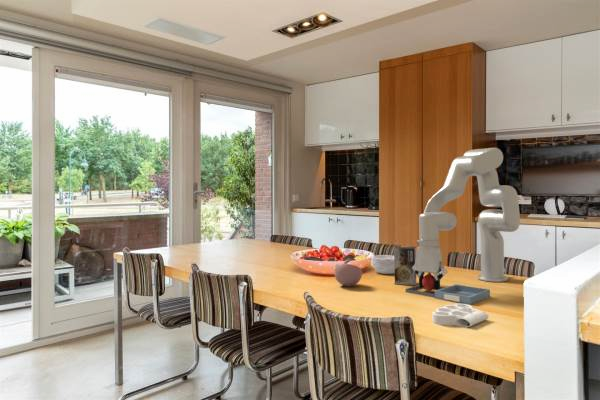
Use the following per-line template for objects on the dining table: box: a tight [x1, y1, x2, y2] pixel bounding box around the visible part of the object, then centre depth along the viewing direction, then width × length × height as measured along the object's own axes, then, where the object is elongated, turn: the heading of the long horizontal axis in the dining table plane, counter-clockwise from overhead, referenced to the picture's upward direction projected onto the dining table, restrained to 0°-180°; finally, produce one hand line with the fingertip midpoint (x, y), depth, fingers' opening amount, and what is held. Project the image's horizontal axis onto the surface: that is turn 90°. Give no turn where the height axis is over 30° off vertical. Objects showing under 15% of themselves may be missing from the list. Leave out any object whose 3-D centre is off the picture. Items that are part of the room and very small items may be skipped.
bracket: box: [405, 284, 446, 298], centre depth 178 cm, size 14×13×1 cm
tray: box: [434, 283, 491, 306], centre depth 167 cm, size 16×14×3 cm
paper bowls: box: [370, 254, 395, 275], centre depth 220 cm, size 15×15×8 cm
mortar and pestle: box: [333, 258, 363, 287], centre depth 191 cm, size 12×12×11 cm
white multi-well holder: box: [431, 303, 489, 329], centre depth 140 cm, size 3×18×15 cm
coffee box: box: [393, 245, 417, 286], centre depth 194 cm, size 9×6×16 cm
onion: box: [422, 273, 435, 293], centre depth 177 cm, size 6×6×8 cm
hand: (429, 287), depth 177 cm, fingers closed on onion, 5 cm apart
